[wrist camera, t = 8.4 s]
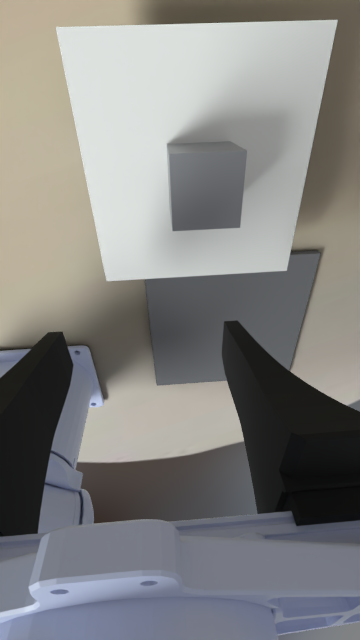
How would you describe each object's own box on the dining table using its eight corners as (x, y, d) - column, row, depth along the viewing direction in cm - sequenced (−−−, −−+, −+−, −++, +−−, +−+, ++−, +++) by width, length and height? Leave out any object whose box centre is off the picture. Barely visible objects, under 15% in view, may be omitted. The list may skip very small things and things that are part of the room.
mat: (156, 381, 30) (156, 385, 29) (143, 260, 22) (143, 263, 21) (286, 372, 30) (287, 375, 30) (317, 250, 22) (320, 253, 22)
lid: (107, 276, 18) (98, 311, 15) (60, 30, 12) (26, 5, 9) (283, 266, 19) (308, 298, 16) (330, 22, 12) (388, -3, 9)
